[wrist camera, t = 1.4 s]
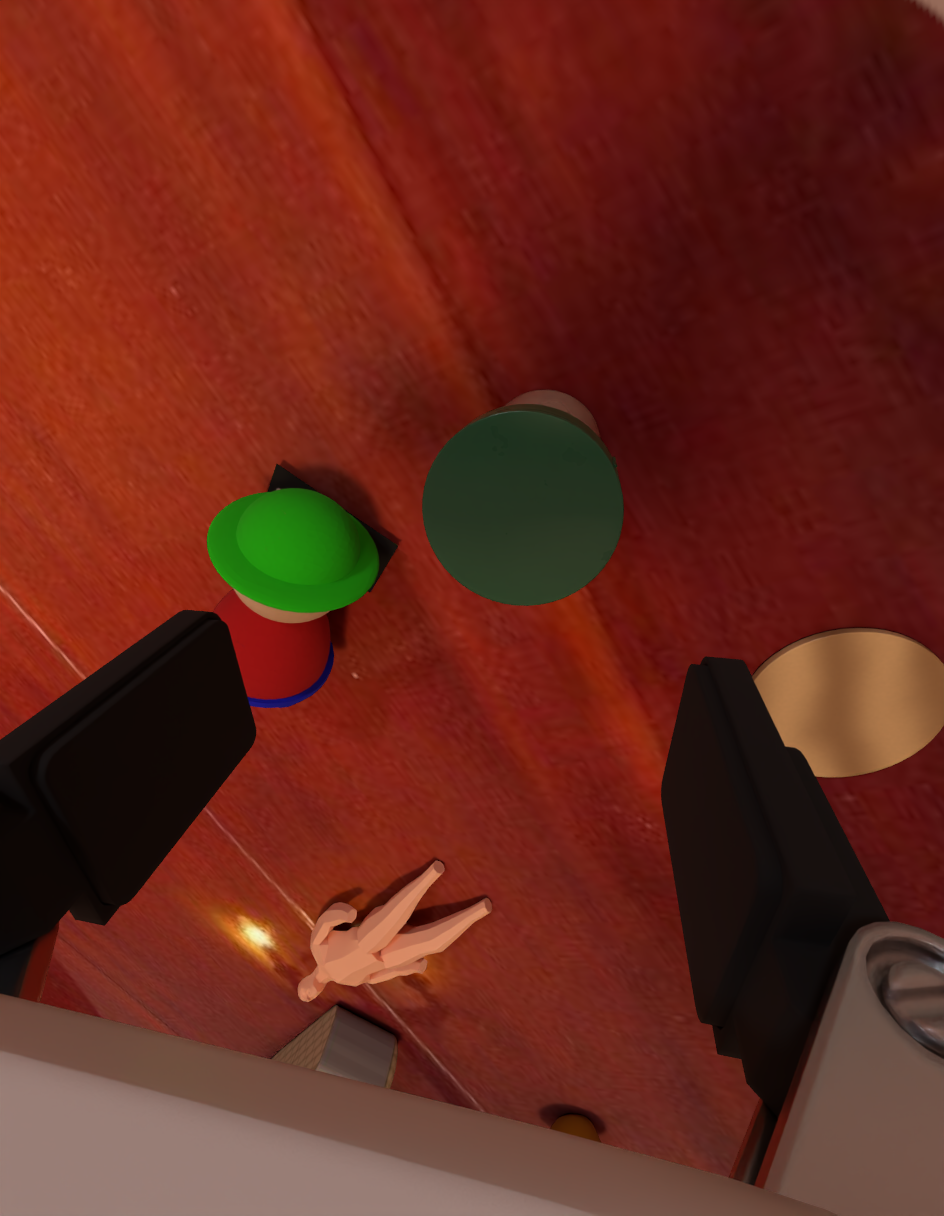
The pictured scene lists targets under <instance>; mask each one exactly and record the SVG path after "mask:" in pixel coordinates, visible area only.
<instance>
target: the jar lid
mask: <svg viewBox="0 0 944 1216" xmlns="http://www.w3.org/2000/svg"><path fill="white" fill-rule="evenodd" d="M616 467H617V463H616V459H615V457H612V456H611V454H610V452H609V451H608V449H607V447H606V446H605V444H604V443H603V442H602V440H601V439H600V438H599V436H598V435H597V434H596V433H595V432H594V431H593V430H592V429H591V428H590V427H589V426H587V425H586V424H585V423H583V422H582V421H581V420H579V419H578V418H576V417H574V416H572V415H570V414H569V413H567V412H564V411H562V410H559V409H556V408H553V407H549V406H544V405H538V404H514V405H509V406H504V407H500V408H497V409H494V410H491V411H489V412H487V413H485V414H483V415H481V416H479V417H477V418H476V419H474V420H473V421H472V422H470V423H469V424H467V425H466V426H465V427H464V428H462V429H461V430H460V431H459V432H458V433H457V434H456V435H454V436H453V437H452V438H451V439H450V440H449V441H448V442H447V443H446V445H445V446H444V447H443V448H442V449H441V451H440V452H439V454H438V455H437V457H436V459H435V460H434V462H433V464H432V466H431V468H430V471H429V473H428V475H427V479H426V482H425V486H424V492H423V501H422V512H423V521H424V526H425V530H426V534H427V537H428V540H429V542H430V545H431V547H432V549H433V551H434V553H435V555H436V556H437V558H438V560H439V561H440V562H441V564H442V565H443V567H444V568H445V569H446V570H447V571H448V572H449V573H450V574H451V576H452V577H454V578H455V579H456V580H457V581H458V582H459V583H461V584H462V585H463V586H465V587H466V588H468V589H469V590H471V591H472V592H474V593H476V594H478V595H480V596H482V597H485V598H487V599H490V600H492V601H496V602H500V603H504V604H510V605H524V606H529V605H540V604H545V603H549V602H553V601H556V600H559V599H562V598H565V597H567V596H569V595H571V594H573V593H575V592H576V591H578V590H580V589H581V588H583V587H584V586H586V585H587V584H588V583H589V582H590V581H591V580H593V579H594V578H595V577H596V576H597V575H598V574H599V572H600V571H601V570H602V569H603V568H604V567H605V565H606V564H607V562H608V561H609V559H610V558H611V556H612V554H613V552H614V550H615V548H616V546H617V543H618V540H619V537H620V534H621V529H622V524H623V513H624V505H623V495H622V490H621V485H620V480H619V476H618V471H617V468H616Z"/></svg>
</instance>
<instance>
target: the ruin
mask: <svg viewBox="0 0 944 1216" xmlns="http://www.w3.org/2000/svg"><path fill="white" fill-rule="evenodd" d="M397 1054H398V1046H397V1040H396V1037H395V1036H394V1035H393V1034H391V1033H389V1032H387V1031H385V1030H383V1029H381V1028H379V1027H377V1026H376V1025H374V1024H372V1023H370V1022H368V1021H366V1020H364V1019H362V1018H360V1017H358V1016H356V1015H354V1014H353V1013H351V1012H349V1011H347V1010H345V1009H343V1008H341V1007H339V1006H337V1005H335V1006H333V1007H332V1008H331V1009H330V1010H329V1011H327V1012H326V1013H325V1014H324V1015H322V1016H321V1017H320V1018H319V1019H318V1020H316V1021H315V1022H314V1023H313V1024H312V1025H310V1026H309V1027H308V1028H307V1029H305V1030H304V1031H303V1032H302V1033H301V1034H299V1035H298V1036H297V1037H296V1038H294V1039H293V1040H292V1041H291V1042H290V1043H288V1044H287V1045H286V1046H285V1047H284V1048H282V1049H281V1050H280V1051H279V1052H278V1053H277V1054H276V1055H275V1056H274V1057H272V1060H276V1061H280V1062H284V1063H288V1064H292V1065H296V1066H300V1067H304V1068H308V1069H312V1070H316V1071H320V1072H324V1073H328V1074H332V1075H336V1076H340V1077H344V1078H348V1079H352V1080H356V1081H360V1082H364V1083H368V1084H372V1085H376V1086H380V1087H384V1088H388V1089H390V1087H391V1084H392V1081H393V1077H394V1073H395V1069H396V1062H397Z"/></svg>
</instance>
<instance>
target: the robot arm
mask: <svg viewBox="0 0 944 1216" xmlns="http://www.w3.org/2000/svg"><path fill="white" fill-rule="evenodd" d="M255 737H256V726H255V723H254V719H253V715H252V712H251V708H250V704H249V701H248V697H247V693H246V690H245V686H244V682H243V679H242V675H241V671H240V668H239V664H238V660H237V657H236V653H235V649H234V646H233V642H232V638H231V635H230V631H229V628H228V625H227V624H226V623H225V622H224V621H222V620H221V618H220V617H219V616H218V615H217V614H216V613H214V612H204V611H193V610H183V611H181V612H179V613H177V614H176V615H174V616H173V617H172V618H170V619H169V620H167V621H166V622H165V623H163V624H162V625H160V626H159V627H158V628H156V629H155V630H153V631H152V632H151V633H149V634H148V635H146V636H145V637H144V638H142V639H141V640H139V641H138V642H137V643H135V644H134V645H132V646H131V647H130V648H128V649H127V650H125V651H124V652H123V653H121V654H120V655H118V656H117V657H116V658H114V659H113V660H111V661H110V662H109V663H107V664H106V665H104V666H103V667H102V668H100V669H99V670H97V671H96V672H95V673H93V674H92V675H90V676H89V677H88V678H86V679H85V680H83V681H82V682H81V683H79V684H78V685H76V686H75V687H74V688H72V689H71V690H69V691H68V692H67V693H65V694H64V695H62V696H61V697H60V698H58V699H57V700H55V701H54V702H53V703H51V704H50V705H48V706H47V707H46V708H44V709H43V710H41V711H40V712H39V713H37V714H36V715H34V716H33V717H32V718H30V719H29V720H27V721H26V722H25V723H23V724H22V725H20V726H19V727H18V728H16V729H15V730H13V731H12V732H11V733H9V734H8V735H6V736H5V737H4V738H2V739H1V740H0V1216H944V939H942V938H940V937H938V936H936V935H934V934H932V933H930V932H928V931H926V930H923V929H921V928H918V927H914V926H910V925H906V924H903V923H899V922H890V921H889V919H888V917H887V915H886V913H885V911H884V909H883V907H882V905H881V903H880V901H879V899H878V897H877V895H876V893H875V891H874V889H873V887H872V886H871V884H870V882H869V880H868V878H867V876H866V874H865V872H864V870H863V868H862V866H861V864H860V862H859V860H858V858H857V856H856V854H855V853H854V851H853V849H852V847H851V845H850V843H849V841H848V839H847V837H846V835H845V833H844V831H843V829H842V827H841V825H840V823H839V821H838V819H837V818H836V816H835V814H834V812H833V810H832V808H831V806H830V804H829V802H828V800H827V798H826V796H825V794H824V792H823V790H822V788H821V786H820V785H819V783H818V781H817V779H816V777H815V775H814V773H813V771H812V769H811V767H810V765H809V763H808V761H807V759H806V758H805V756H804V755H803V754H802V752H801V751H800V750H798V749H796V748H794V747H785V745H784V743H783V741H782V739H781V736H780V734H779V732H778V730H777V728H776V726H775V724H774V722H773V720H772V718H771V716H770V714H769V711H768V709H767V707H766V705H765V703H764V701H763V699H762V697H761V695H760V693H759V691H758V689H757V686H756V684H755V682H754V680H753V678H752V676H751V674H750V672H749V670H748V668H747V666H746V664H745V662H744V661H743V660H738V659H727V658H715V657H704V658H703V660H702V662H701V664H700V665H696V664H691V665H690V666H689V668H688V672H687V676H686V680H685V684H684V689H683V693H682V697H681V702H680V706H679V710H678V715H677V719H676V723H675V728H674V732H673V736H672V741H671V745H670V749H669V754H668V758H667V762H666V767H665V771H664V775H663V780H662V787H661V800H662V807H663V813H664V819H665V825H666V831H667V837H668V843H669V849H670V855H671V861H672V867H673V873H674V880H675V886H676V892H677V898H678V904H679V910H680V916H681V922H682V928H683V934H684V940H685V946H686V952H687V958H688V964H689V970H690V976H691V982H692V988H693V994H694V1000H695V1006H696V1011H697V1015H698V1018H699V1020H700V1021H701V1023H705V1024H710V1025H712V1026H713V1032H714V1037H715V1043H716V1048H717V1053H718V1054H719V1055H724V1056H729V1057H734V1058H738V1059H742V1064H743V1068H744V1073H745V1077H746V1082H747V1084H748V1085H749V1086H750V1087H751V1088H752V1089H753V1091H754V1092H755V1093H756V1094H757V1095H758V1096H759V1097H760V1099H759V1101H758V1104H757V1106H756V1109H755V1111H754V1114H753V1117H752V1119H751V1122H750V1124H749V1127H748V1129H747V1132H746V1134H745V1137H744V1139H743V1142H742V1145H741V1147H740V1150H739V1152H738V1155H737V1157H736V1160H735V1162H734V1165H733V1167H732V1170H731V1173H730V1175H729V1178H728V1177H725V1176H721V1175H718V1174H714V1173H710V1172H707V1171H703V1170H699V1169H696V1168H692V1167H688V1166H685V1165H681V1164H677V1163H674V1162H670V1161H666V1160H663V1159H659V1158H655V1157H651V1156H648V1155H644V1154H640V1153H637V1152H633V1151H629V1150H626V1149H622V1148H618V1147H615V1146H611V1145H607V1144H604V1143H600V1142H596V1141H593V1140H589V1139H585V1138H582V1137H578V1136H574V1135H570V1134H567V1133H563V1132H559V1131H556V1130H552V1129H548V1128H544V1127H540V1126H536V1125H532V1124H528V1123H524V1122H520V1121H516V1120H512V1119H508V1118H504V1117H500V1116H496V1115H492V1114H488V1113H484V1112H480V1111H476V1110H472V1109H468V1108H464V1107H460V1106H456V1105H452V1104H448V1103H444V1102H440V1101H436V1100H432V1099H428V1098H424V1097H420V1096H416V1095H412V1094H408V1093H404V1092H400V1091H396V1090H392V1089H388V1088H384V1087H380V1086H376V1085H372V1084H368V1083H364V1082H360V1081H356V1080H352V1079H348V1078H344V1077H340V1076H336V1075H332V1074H328V1073H324V1072H320V1071H316V1070H312V1069H308V1068H304V1067H300V1066H296V1065H292V1064H288V1063H284V1062H280V1061H276V1060H272V1059H267V1058H263V1057H259V1056H255V1055H251V1054H247V1053H243V1052H239V1051H235V1050H231V1049H227V1048H223V1047H218V1046H214V1045H210V1044H206V1043H202V1042H198V1041H194V1040H190V1039H186V1038H182V1037H178V1036H173V1035H169V1034H165V1033H161V1032H157V1031H153V1030H149V1029H145V1028H141V1027H137V1026H132V1025H128V1024H124V1023H120V1022H116V1021H112V1020H108V1019H104V1018H100V1017H95V1016H91V1015H87V1014H83V1013H79V1012H75V1011H71V1010H67V1009H62V1008H58V1007H54V1006H50V1005H46V1004H41V1003H40V1000H41V996H42V992H43V988H44V984H45V980H46V976H47V972H48V969H49V965H50V961H51V957H52V953H53V949H54V945H55V941H56V937H57V933H58V929H59V920H60V919H61V918H62V917H63V916H64V915H65V914H66V912H67V911H68V910H70V912H71V913H72V915H73V917H74V918H75V920H80V921H85V922H90V923H95V924H99V925H104V926H105V925H106V923H107V922H108V921H109V920H110V918H111V917H112V916H113V915H114V913H115V912H116V911H117V909H118V908H119V907H120V906H121V905H124V904H126V903H128V902H129V901H130V900H131V899H132V898H133V897H134V896H135V895H136V894H137V893H138V891H139V890H140V889H141V888H142V886H143V885H144V884H145V882H146V881H147V880H148V879H149V877H150V876H151V875H152V873H153V872H154V871H155V870H156V868H157V867H158V866H159V865H160V863H161V862H162V861H163V859H164V858H165V857H166V856H167V854H168V853H169V852H170V850H171V849H172V848H173V847H174V845H175V844H176V843H177V842H178V840H179V839H180V838H181V836H182V835H183V834H184V833H185V831H186V830H187V829H188V827H189V826H190V825H191V824H192V822H193V821H194V820H195V819H196V817H197V816H198V815H199V813H200V812H201V811H202V810H203V808H204V807H205V806H206V804H207V803H208V802H209V801H210V799H211V798H212V797H213V796H214V794H215V793H216V792H217V790H218V789H219V788H220V787H221V785H222V784H223V783H224V781H225V780H226V779H227V778H228V776H229V775H230V774H231V773H232V771H233V770H234V769H235V767H236V766H237V765H238V764H239V762H240V761H241V760H242V758H243V757H244V756H245V755H246V753H247V752H248V751H249V750H250V748H251V747H252V745H253V743H254V741H255Z"/></svg>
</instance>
